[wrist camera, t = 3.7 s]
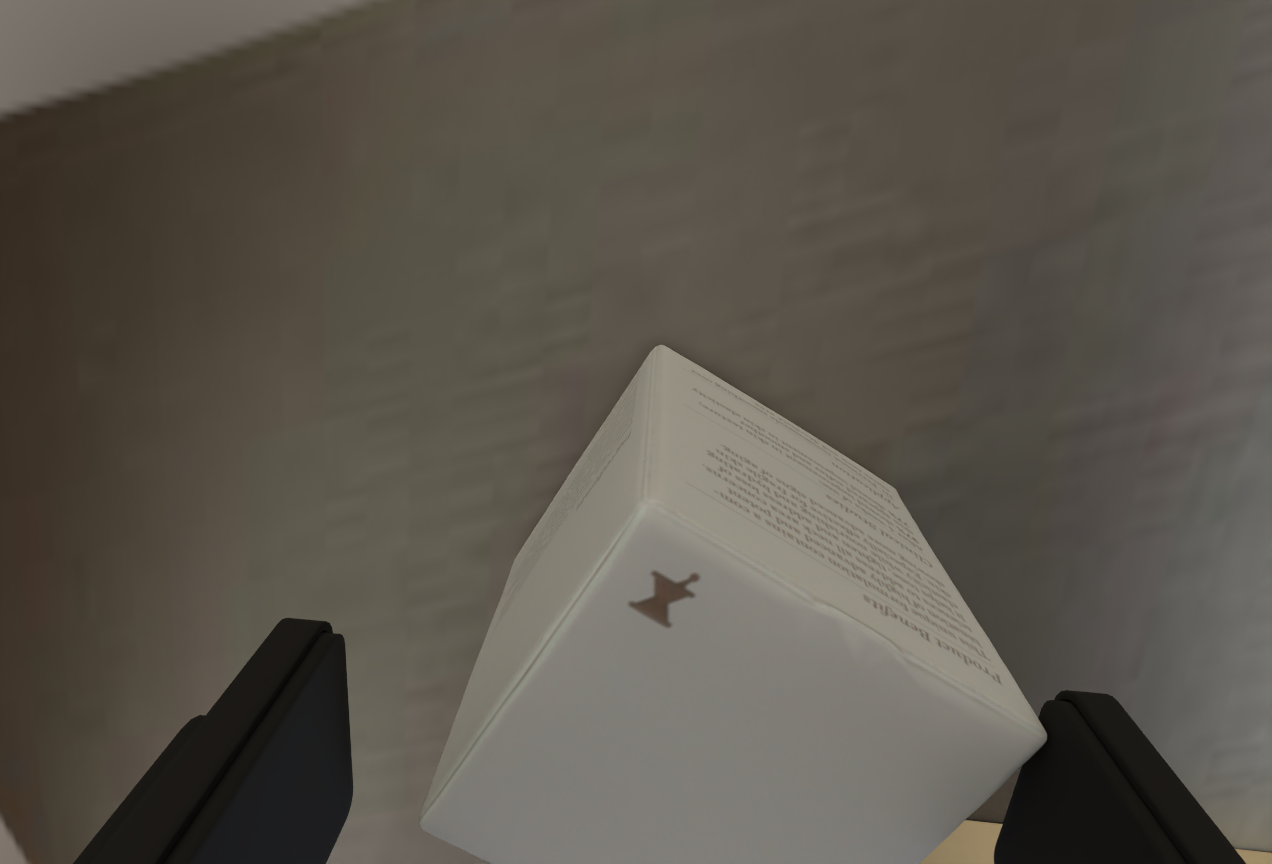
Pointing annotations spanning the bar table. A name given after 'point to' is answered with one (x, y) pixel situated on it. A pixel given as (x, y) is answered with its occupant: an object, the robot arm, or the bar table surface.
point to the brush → (971, 845)
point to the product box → (724, 659)
